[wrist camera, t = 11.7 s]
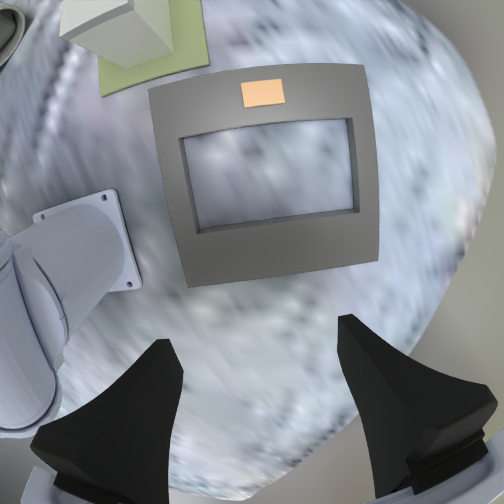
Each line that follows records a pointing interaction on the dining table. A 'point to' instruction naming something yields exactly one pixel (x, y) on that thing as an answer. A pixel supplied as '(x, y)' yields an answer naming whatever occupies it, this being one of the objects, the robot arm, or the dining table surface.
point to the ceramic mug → (10, 30)
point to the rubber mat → (184, 57)
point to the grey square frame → (260, 113)
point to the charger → (119, 29)
